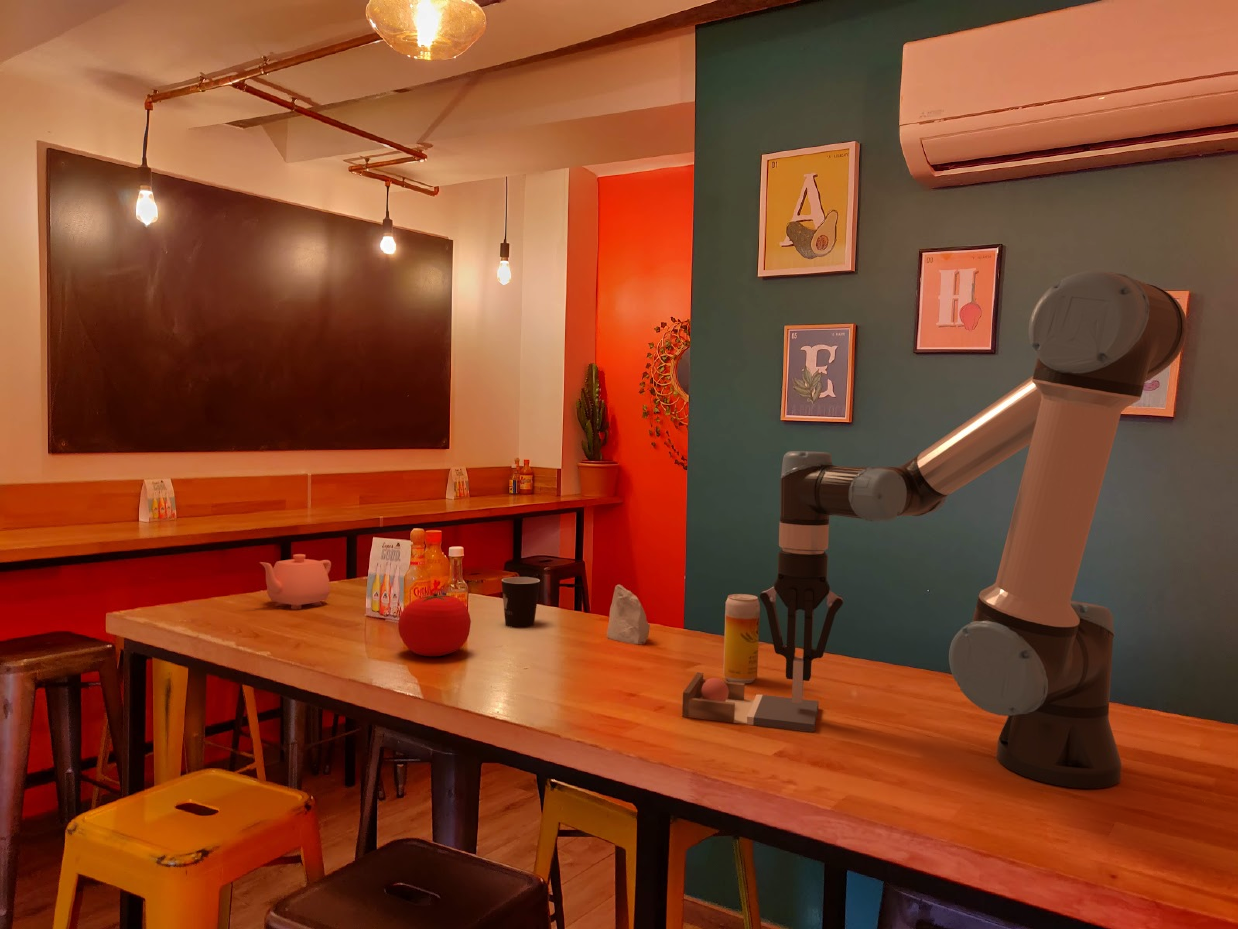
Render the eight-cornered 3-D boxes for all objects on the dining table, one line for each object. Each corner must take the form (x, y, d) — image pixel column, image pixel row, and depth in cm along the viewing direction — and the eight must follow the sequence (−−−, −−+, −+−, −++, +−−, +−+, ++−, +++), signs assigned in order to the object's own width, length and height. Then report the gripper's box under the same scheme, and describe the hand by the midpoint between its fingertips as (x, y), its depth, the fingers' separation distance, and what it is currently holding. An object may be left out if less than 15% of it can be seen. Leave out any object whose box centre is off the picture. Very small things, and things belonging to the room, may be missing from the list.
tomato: (449, 665, 161) (450, 602, 160) (385, 657, 165) (386, 596, 165) (482, 649, 173) (483, 591, 173) (421, 642, 177) (423, 585, 177)
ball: (733, 707, 141) (735, 680, 141) (713, 711, 138) (715, 683, 138) (714, 699, 144) (716, 673, 144) (694, 702, 142) (697, 676, 142)
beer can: (756, 685, 154) (759, 601, 153) (721, 682, 155) (724, 598, 155) (757, 676, 160) (760, 594, 159) (724, 673, 161) (727, 592, 160)
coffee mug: (536, 629, 192) (538, 584, 191) (497, 628, 192) (498, 583, 191) (542, 618, 203) (543, 575, 203) (505, 617, 203) (506, 574, 203)
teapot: (241, 608, 205) (242, 556, 204) (312, 595, 222) (313, 548, 221) (277, 616, 198) (278, 562, 197) (348, 602, 214) (348, 553, 214)
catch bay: (744, 700, 145) (744, 677, 145) (733, 722, 134) (734, 698, 134) (696, 694, 147) (697, 672, 147) (682, 716, 136) (682, 692, 136)
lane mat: (818, 708, 142) (818, 701, 142) (813, 732, 130) (814, 724, 130) (696, 694, 147) (697, 687, 147) (682, 716, 136) (682, 709, 136)
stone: (651, 643, 183) (653, 588, 182) (632, 646, 179) (635, 590, 179) (619, 633, 190) (621, 580, 190) (601, 636, 187) (603, 582, 187)
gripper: (846, 550, 138) (840, 698, 139) (763, 544, 141) (758, 689, 142) (845, 556, 131) (839, 712, 131) (758, 550, 134) (752, 702, 135)
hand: (797, 700), depth 137 cm, fingers closed
